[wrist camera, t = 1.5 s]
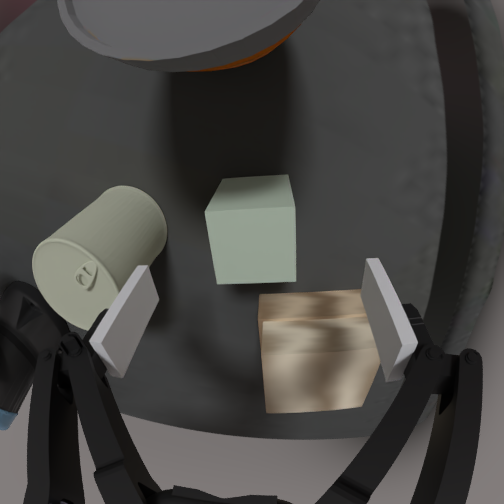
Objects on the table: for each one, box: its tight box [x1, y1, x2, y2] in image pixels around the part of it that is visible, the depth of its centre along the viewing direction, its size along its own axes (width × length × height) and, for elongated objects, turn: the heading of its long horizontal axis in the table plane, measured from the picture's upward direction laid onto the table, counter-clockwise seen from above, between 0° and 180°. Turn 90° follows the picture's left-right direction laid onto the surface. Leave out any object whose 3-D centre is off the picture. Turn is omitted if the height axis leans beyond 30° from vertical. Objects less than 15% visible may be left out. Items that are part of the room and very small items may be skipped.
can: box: [32, 186, 167, 331], centre depth 24 cm, size 9×9×12 cm
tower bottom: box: [258, 289, 367, 352], centre depth 33 cm, size 13×13×4 cm
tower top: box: [261, 316, 381, 413], centre depth 30 cm, size 12×12×4 cm
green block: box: [205, 175, 296, 284], centre depth 24 cm, size 6×6×8 cm
